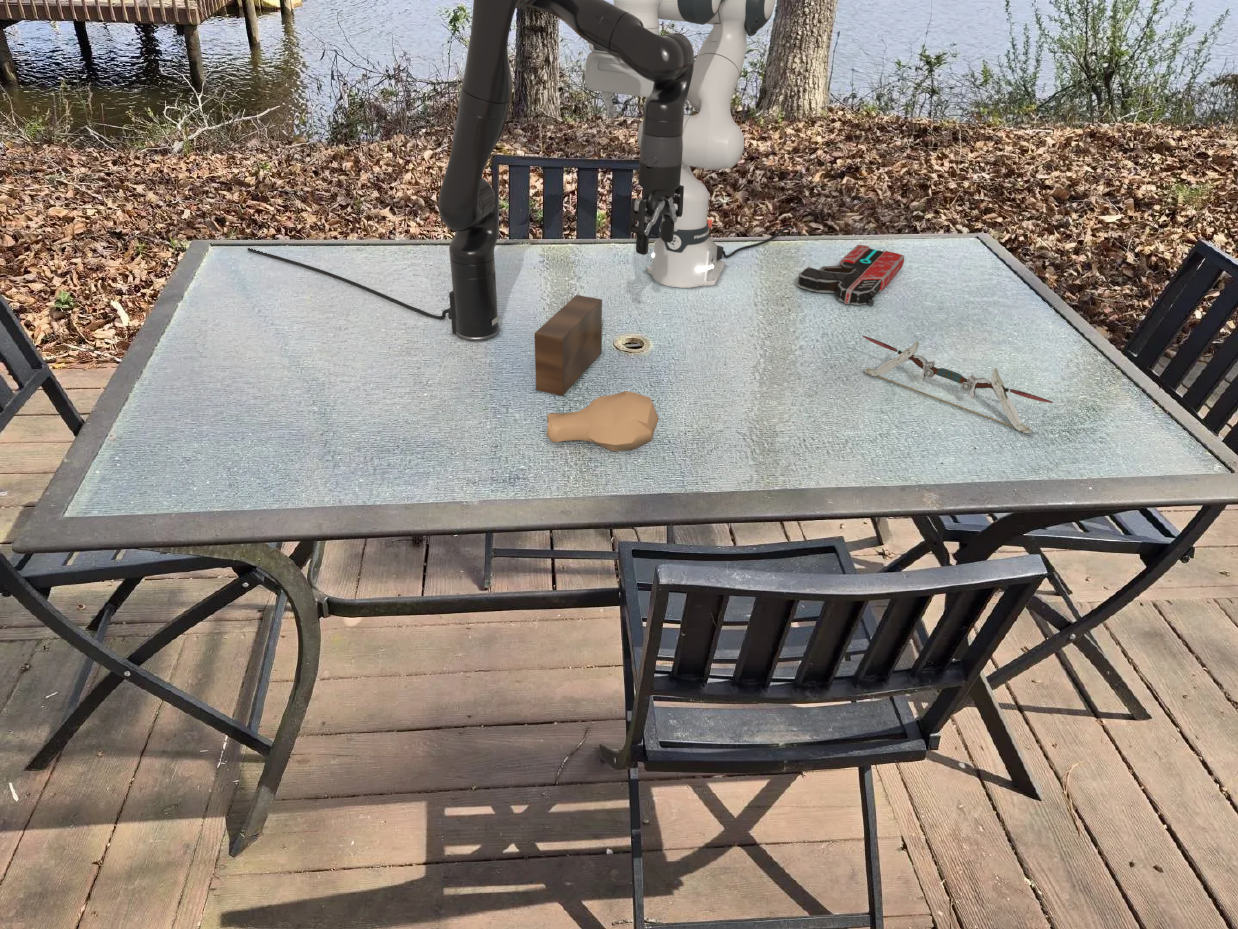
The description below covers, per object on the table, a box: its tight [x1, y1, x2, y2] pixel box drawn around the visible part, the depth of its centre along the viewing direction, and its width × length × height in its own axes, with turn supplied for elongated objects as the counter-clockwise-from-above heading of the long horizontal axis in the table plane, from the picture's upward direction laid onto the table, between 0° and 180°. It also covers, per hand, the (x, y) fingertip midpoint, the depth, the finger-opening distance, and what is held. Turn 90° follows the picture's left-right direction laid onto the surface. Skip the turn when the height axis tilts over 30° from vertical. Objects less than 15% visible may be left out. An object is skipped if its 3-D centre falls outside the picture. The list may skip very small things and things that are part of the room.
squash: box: [545, 390, 660, 452], centre depth 154 cm, size 11×20×9 cm, turn 90°
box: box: [533, 294, 603, 397], centre depth 175 cm, size 20×6×12 cm, turn 159°
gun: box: [796, 244, 905, 307], centre depth 222 cm, size 4×31×19 cm
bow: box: [861, 335, 1054, 434], centre depth 169 cm, size 39×2×10 cm, turn 47°
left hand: (654, 247), depth 164 cm, fingers open, 8 cm apart
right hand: (633, 118), depth 175 cm, fingers open, 8 cm apart
